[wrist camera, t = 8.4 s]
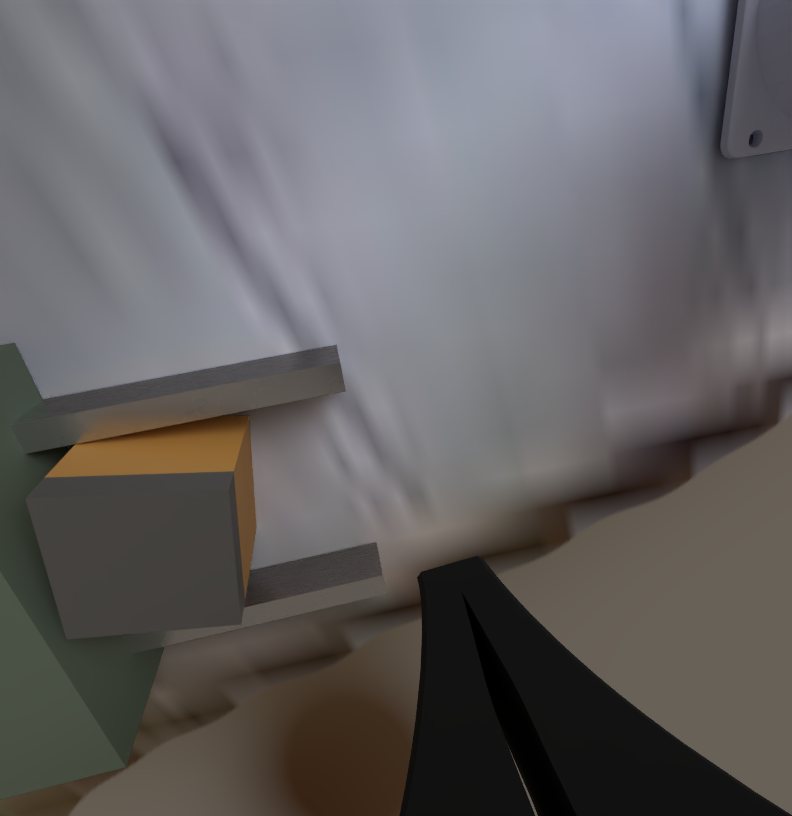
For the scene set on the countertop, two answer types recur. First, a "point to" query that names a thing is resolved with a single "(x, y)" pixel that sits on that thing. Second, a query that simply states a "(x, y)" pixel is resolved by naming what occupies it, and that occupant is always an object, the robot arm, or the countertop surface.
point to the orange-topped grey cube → (150, 529)
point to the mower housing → (132, 653)
